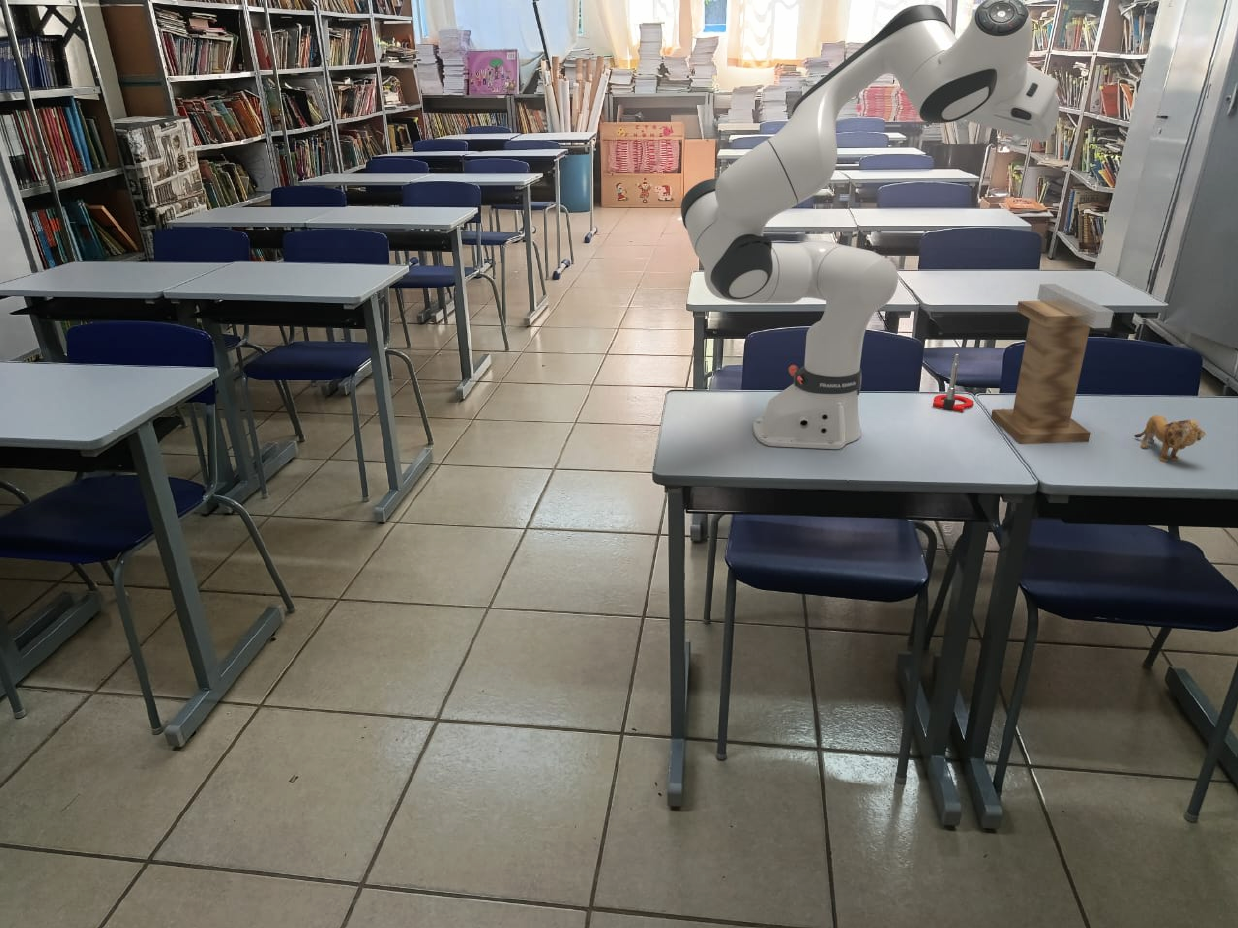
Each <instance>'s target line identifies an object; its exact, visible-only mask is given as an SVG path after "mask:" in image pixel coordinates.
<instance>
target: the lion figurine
mask: <svg viewBox="0 0 1238 928" xmlns="http://www.w3.org/2000/svg"><path fill="white" fill-rule="evenodd" d="M1146 423H1147V424H1146V426H1145V427H1146V428H1145V429H1144V430H1143V431H1142V432H1141V433H1138V434H1137V433H1136V434H1134V435H1133V436H1134V437H1135V438H1141V437H1143V438H1142V442H1141V445H1140V448H1141V449H1143V450H1146V449H1148V445H1147V442H1148V443H1150V444H1155V442H1156V441H1155V439H1154V437H1155V438H1156V439H1157V440H1158V441H1159V442H1162V445H1161V453H1160V458H1159V461H1160V462H1162V463H1167V462H1168V452H1169V450H1170V448H1171V449H1172V450H1171V453H1170V455H1169V456H1170V459H1171V460H1173V461H1178V460H1179V459H1180V458H1179V456H1177V454H1178V451H1179V450H1180V451H1181V450H1184V449H1185V448H1186V447H1191V446H1193V445H1194V444H1196V442H1200V441H1201V440H1202V439H1203V438H1204V437H1205V436H1206V433H1207V432H1205V431H1204V430H1202V428H1201V427H1200V426H1199V421H1196V420H1194V419H1186V420H1179V421H1172V422H1170V423H1169V422H1168V421H1167V419H1166V418H1165V417H1164V416H1163V415H1159V414H1156V415H1155V414H1154V415H1152V416H1151V417H1150V418H1149V419H1148V421H1147V422H1146Z"/></svg>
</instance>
